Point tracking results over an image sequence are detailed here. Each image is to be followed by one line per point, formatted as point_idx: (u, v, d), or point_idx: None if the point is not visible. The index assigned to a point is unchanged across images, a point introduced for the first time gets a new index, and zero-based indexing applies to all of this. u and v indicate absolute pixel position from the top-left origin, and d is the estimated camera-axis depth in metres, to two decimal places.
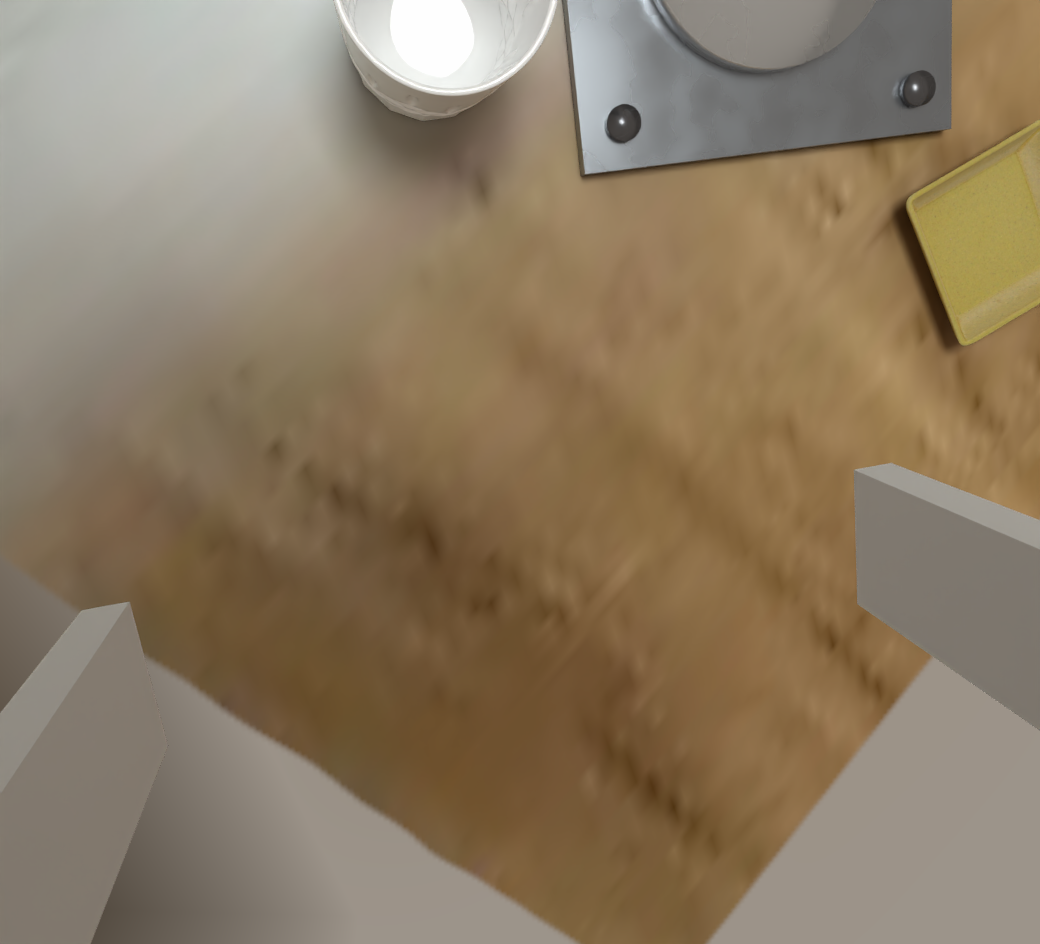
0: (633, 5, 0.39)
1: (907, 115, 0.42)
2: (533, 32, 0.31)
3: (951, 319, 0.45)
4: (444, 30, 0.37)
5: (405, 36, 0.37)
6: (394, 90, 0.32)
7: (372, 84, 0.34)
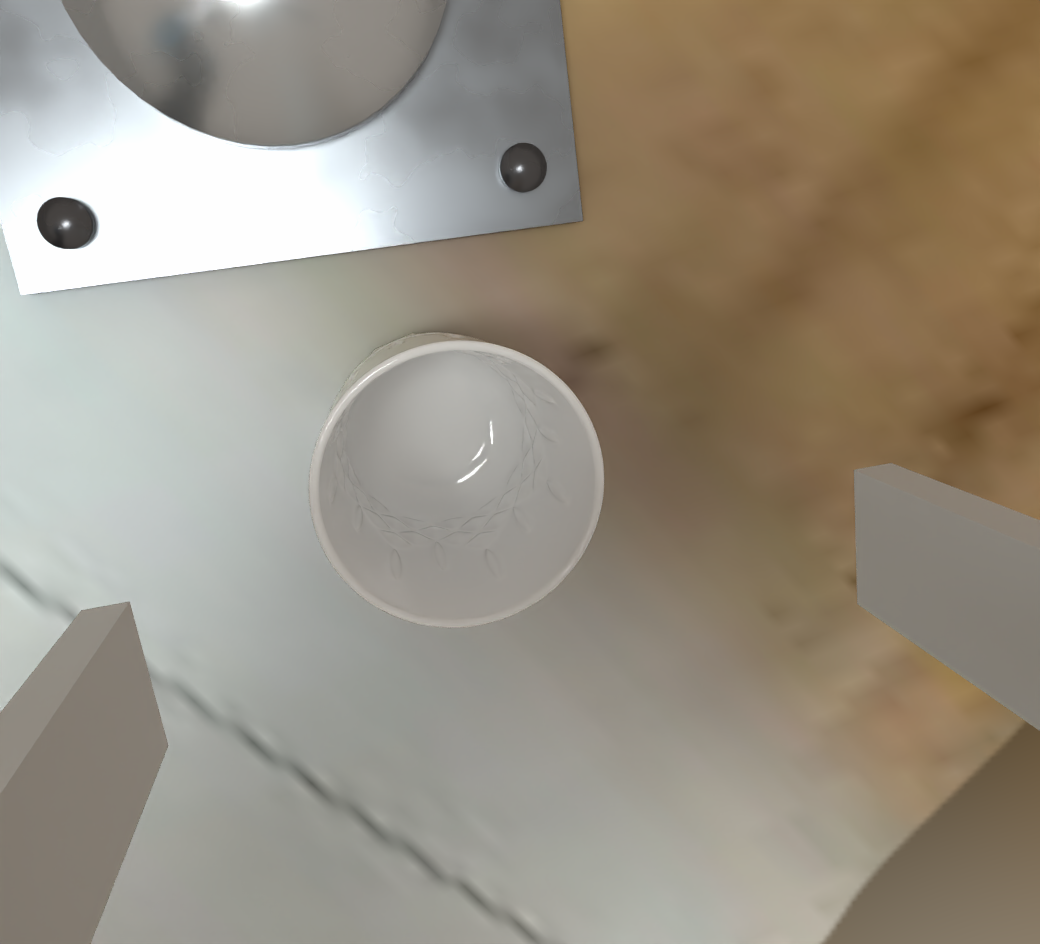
0: (374, 153, 0.29)
1: None
2: (508, 360, 0.23)
3: None
4: (430, 410, 0.30)
5: (440, 457, 0.31)
6: None
7: None
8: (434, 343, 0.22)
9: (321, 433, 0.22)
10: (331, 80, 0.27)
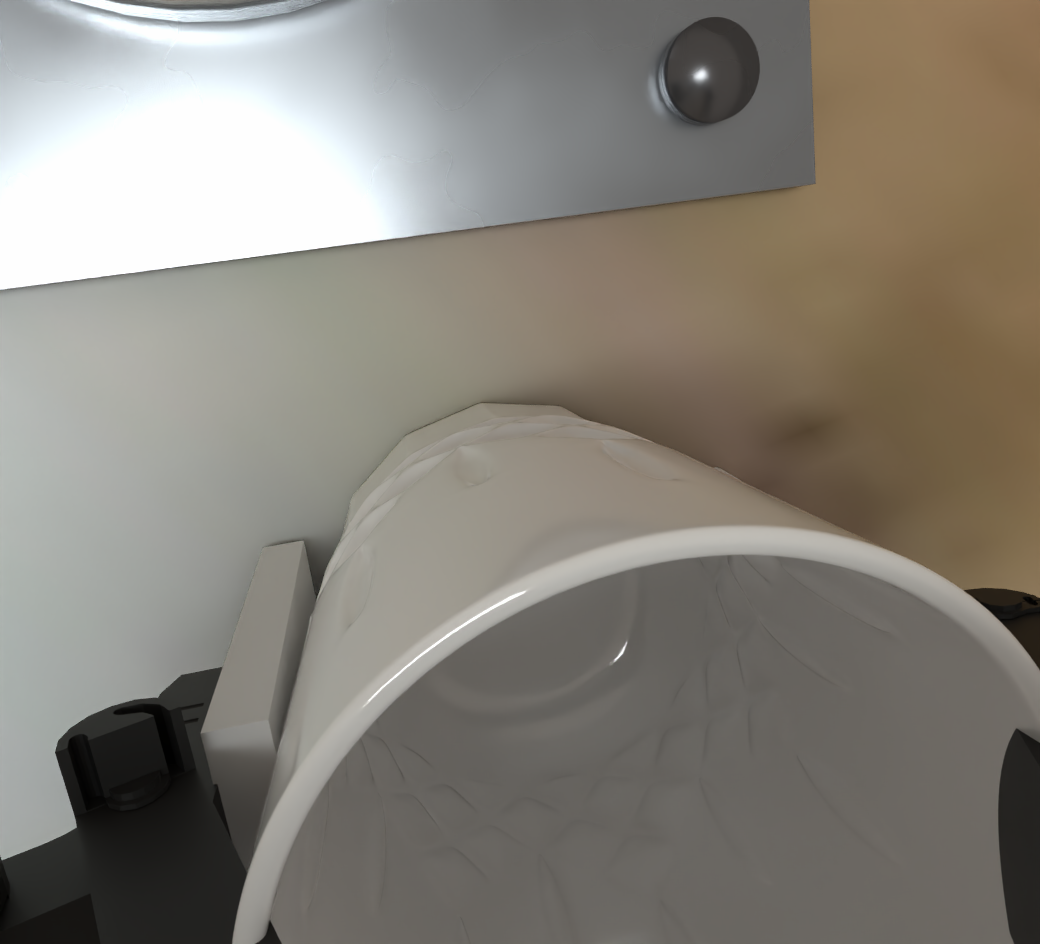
0: (406, 37, 0.14)
1: None
2: None
3: None
4: None
5: (535, 648, 0.16)
6: None
7: None
8: (642, 539, 0.07)
9: (267, 837, 0.07)
10: None
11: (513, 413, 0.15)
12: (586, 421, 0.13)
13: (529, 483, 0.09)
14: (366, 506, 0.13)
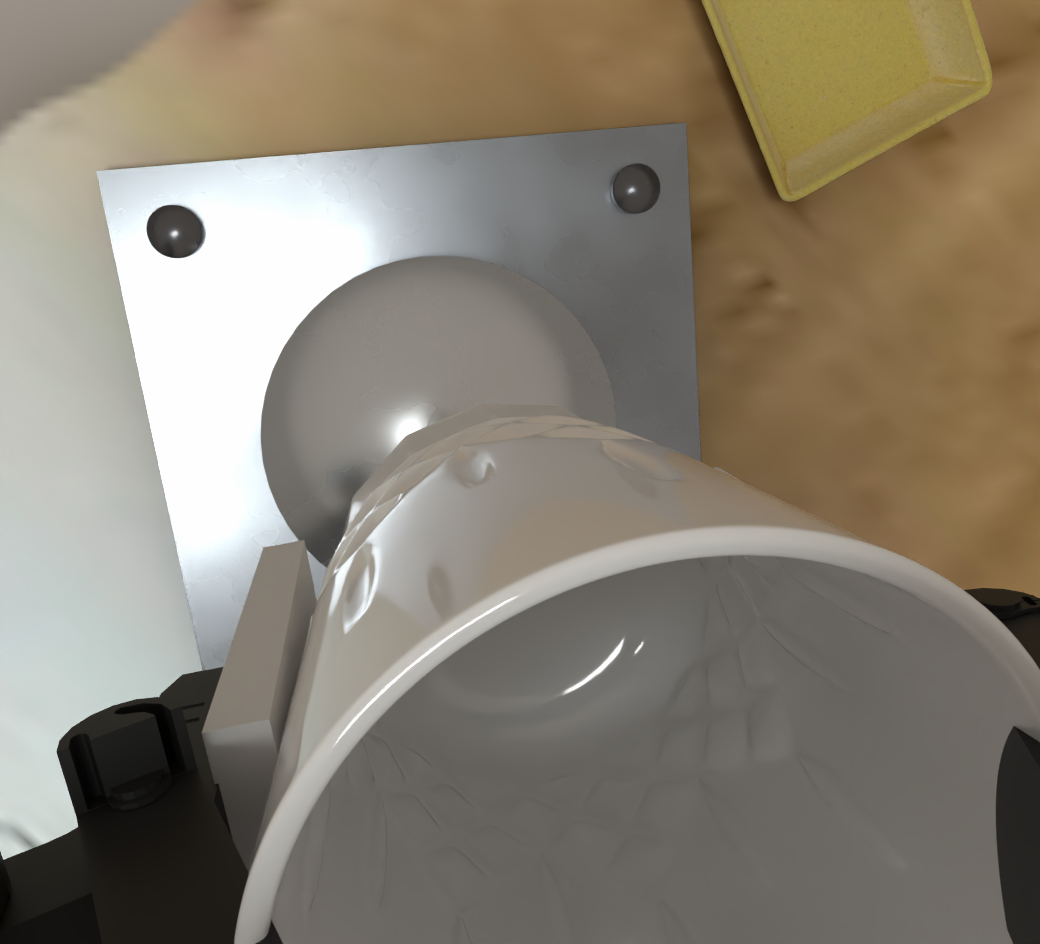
0: None
1: (665, 198, 0.30)
2: None
3: (953, 112, 0.30)
4: None
5: (536, 648, 0.16)
6: None
7: None
8: (644, 539, 0.07)
9: (269, 837, 0.07)
10: None
11: (514, 413, 0.15)
12: (587, 421, 0.13)
13: (530, 483, 0.09)
14: (367, 506, 0.13)
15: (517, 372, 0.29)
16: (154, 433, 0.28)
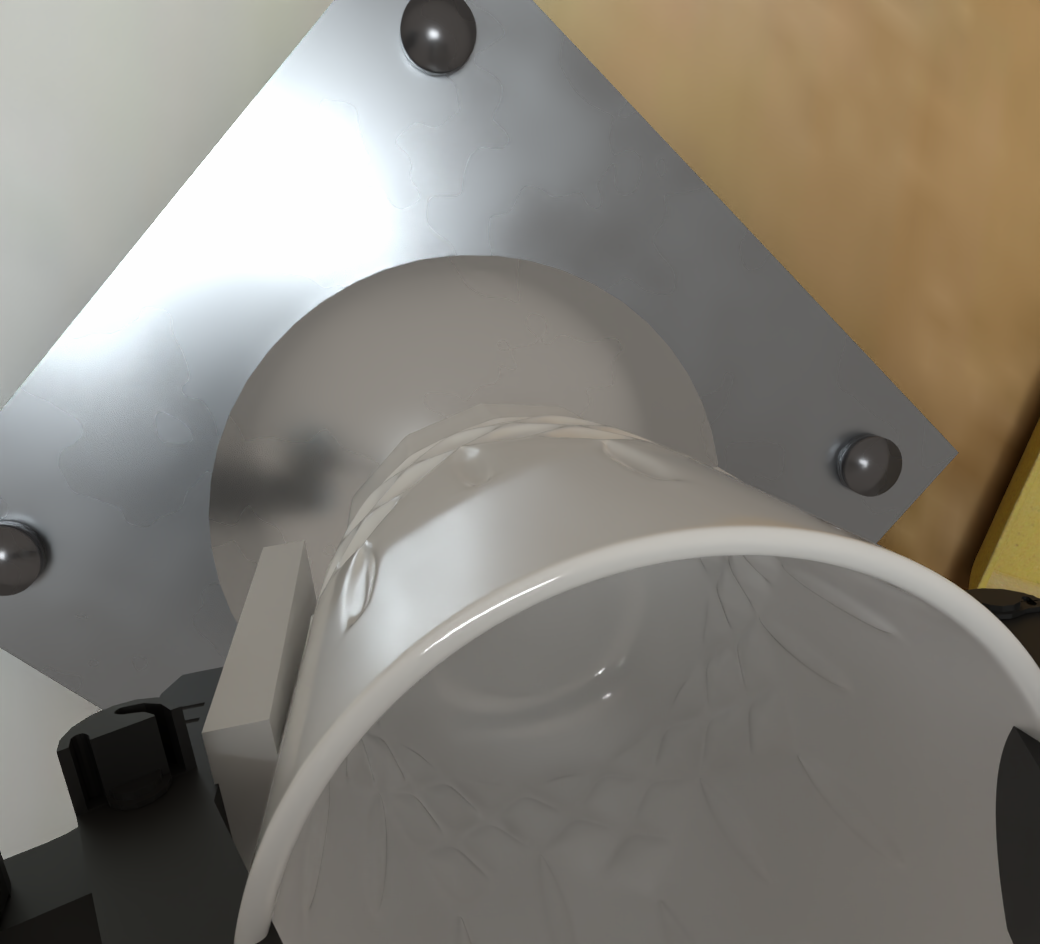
0: None
1: (879, 499, 0.23)
2: None
3: None
4: None
5: (536, 648, 0.16)
6: None
7: None
8: (644, 539, 0.07)
9: (269, 837, 0.07)
10: None
11: (514, 413, 0.15)
12: (587, 421, 0.13)
13: (531, 483, 0.09)
14: (367, 506, 0.13)
15: None
16: (178, 197, 0.18)
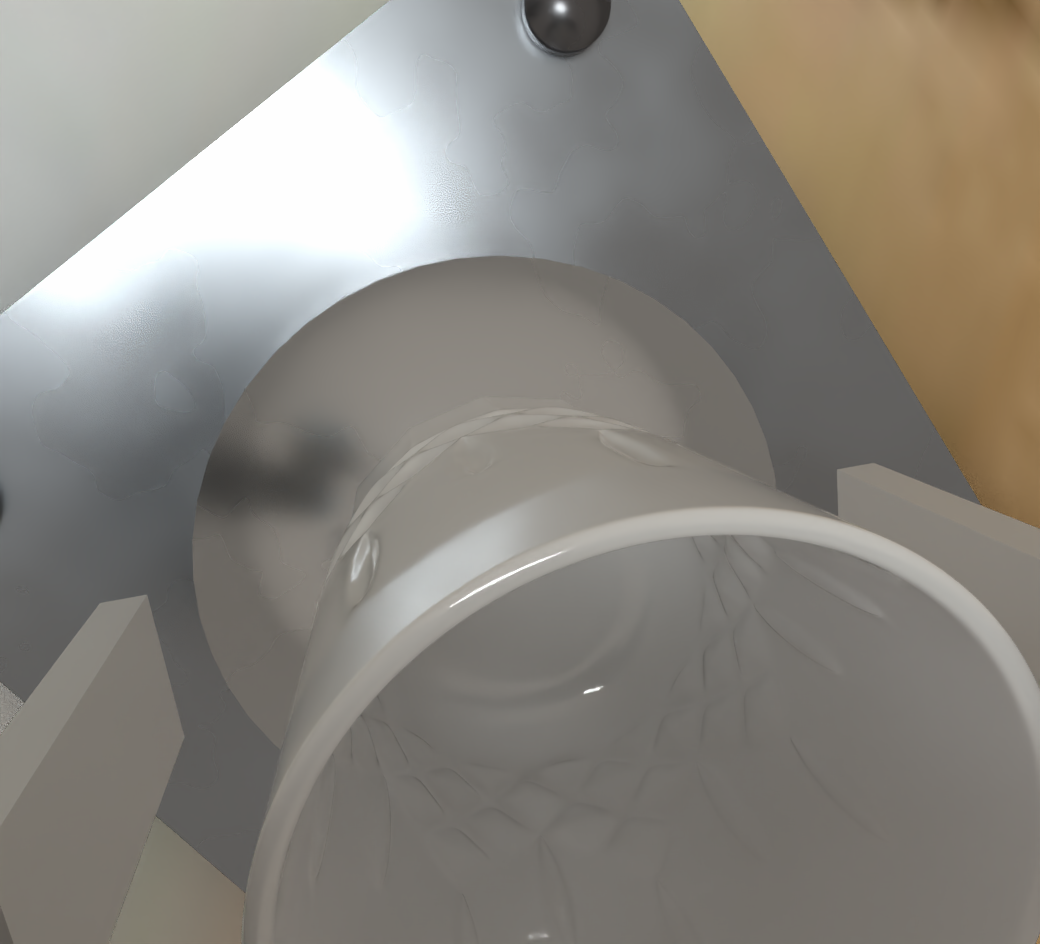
0: None
1: None
2: None
3: None
4: None
5: (537, 636, 0.16)
6: None
7: None
8: (635, 519, 0.07)
9: (278, 802, 0.07)
10: None
11: (515, 405, 0.15)
12: (586, 413, 0.14)
13: (528, 470, 0.09)
14: (371, 495, 0.13)
15: None
16: (235, 130, 0.16)
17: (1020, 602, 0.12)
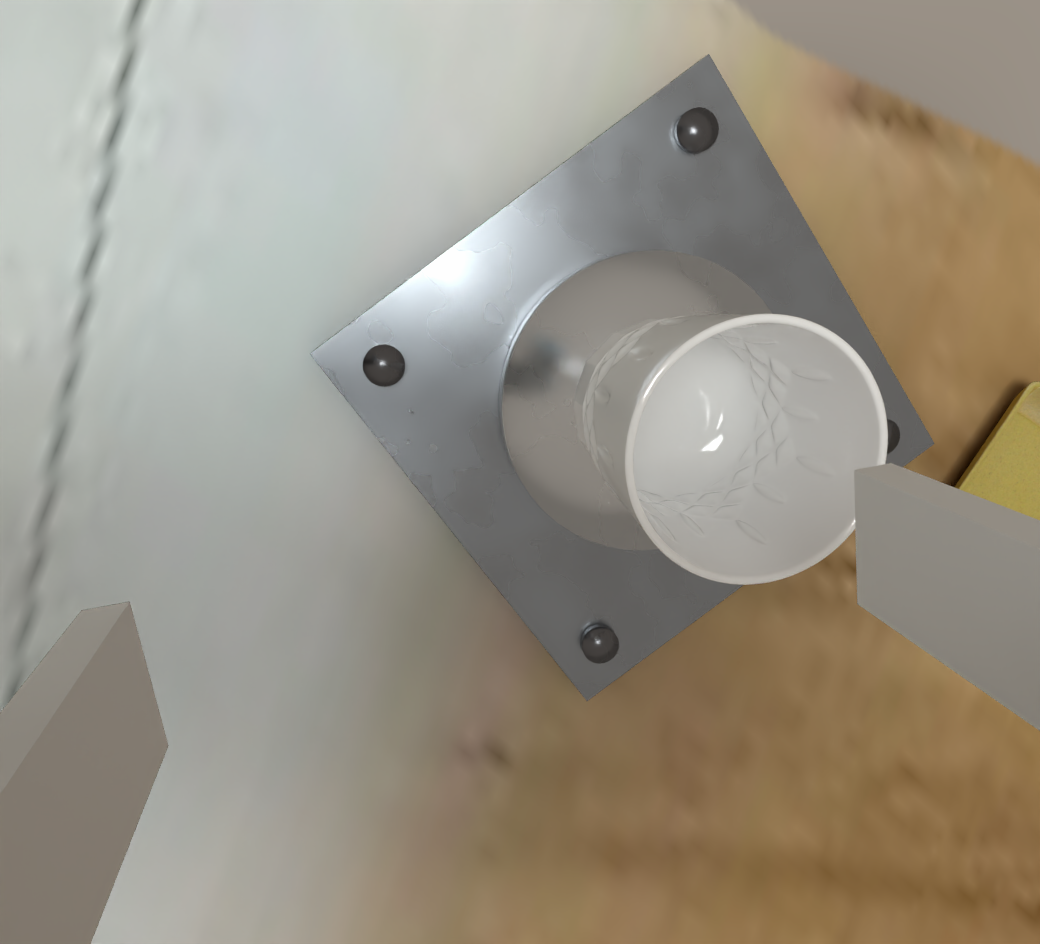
0: (552, 542, 0.36)
1: None
2: (800, 336, 0.25)
3: None
4: (668, 391, 0.32)
5: (673, 436, 0.33)
6: None
7: None
8: (750, 315, 0.24)
9: (643, 394, 0.24)
10: (587, 500, 0.35)
11: None
12: None
13: (704, 318, 0.26)
14: (611, 351, 0.30)
15: None
16: (535, 186, 0.33)
17: None
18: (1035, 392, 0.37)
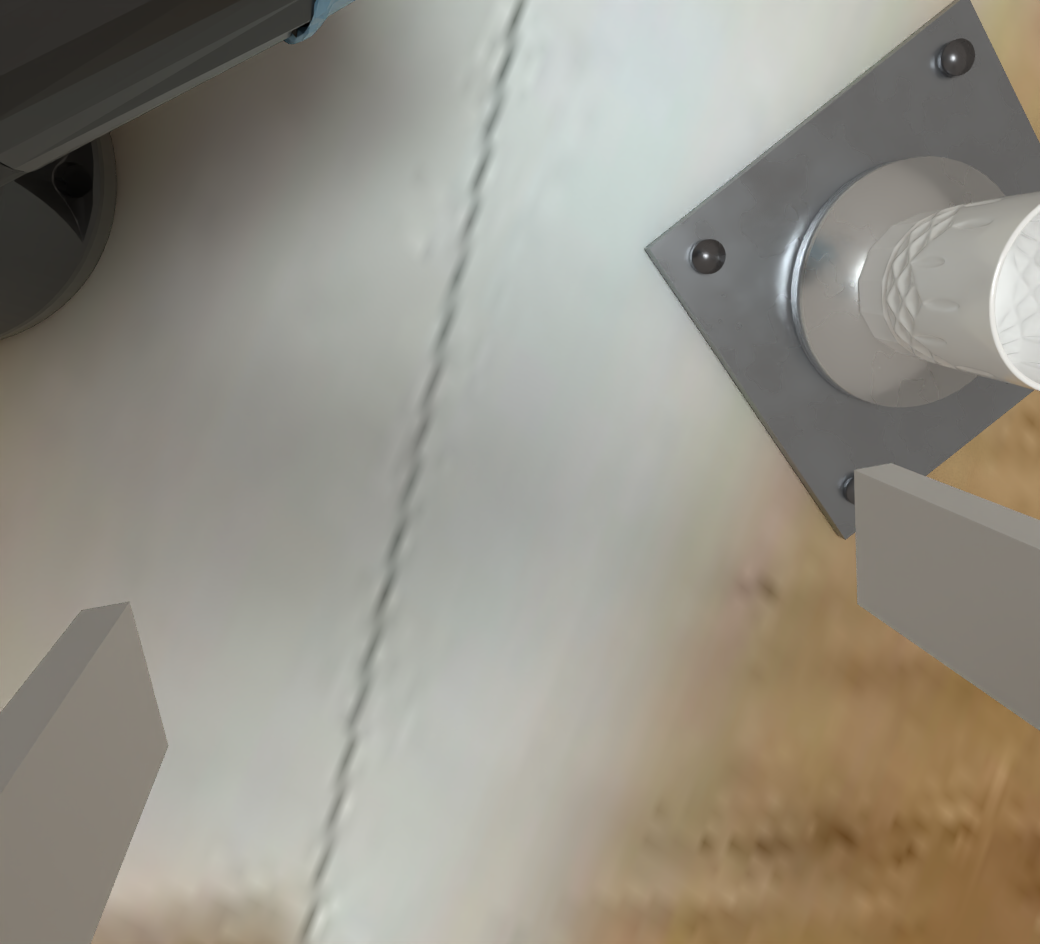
0: (826, 404, 0.44)
1: None
2: None
3: None
4: None
5: None
6: None
7: None
8: None
9: (1007, 245, 0.31)
10: (863, 365, 0.42)
11: None
12: None
13: (1025, 193, 0.34)
14: (914, 233, 0.38)
15: None
16: (829, 106, 0.40)
17: None
18: None
